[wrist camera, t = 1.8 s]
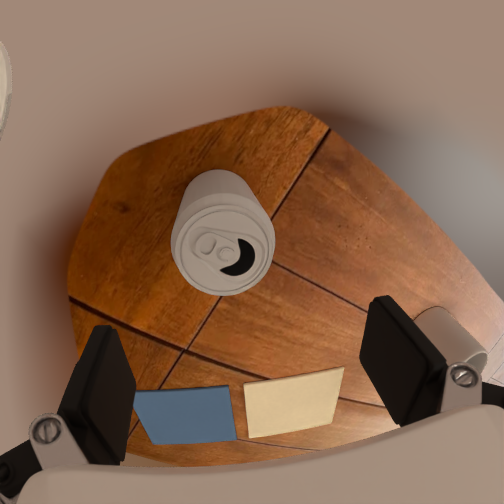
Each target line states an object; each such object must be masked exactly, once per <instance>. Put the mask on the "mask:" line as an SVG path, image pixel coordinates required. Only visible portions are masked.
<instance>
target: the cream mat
mask: <svg viewBox="0 0 504 504" xmlns="http://www.w3.org/2000/svg"><path fill="white" fill-rule="evenodd" d="M343 372H344V366H342V367H337V368H332V369H328V370H323V371H318V372H312V373H307V374H302V375H296V376H290V377H284V378H278V379H271V380H264V381H257V382H250V383H243V385H244V395H245V405H246V414H247V424H248V433H249V438H255V437H262V436H269V435H275V434H281V433H287V432H292V431H297V430H302V429H307V428H312V427H317V426H321V425H325V424H330V423H332V419H333V415H334V411H335V407H336V403H337V399H338V394H339V390H340V386H341V381H342V376H343Z"/></svg>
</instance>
